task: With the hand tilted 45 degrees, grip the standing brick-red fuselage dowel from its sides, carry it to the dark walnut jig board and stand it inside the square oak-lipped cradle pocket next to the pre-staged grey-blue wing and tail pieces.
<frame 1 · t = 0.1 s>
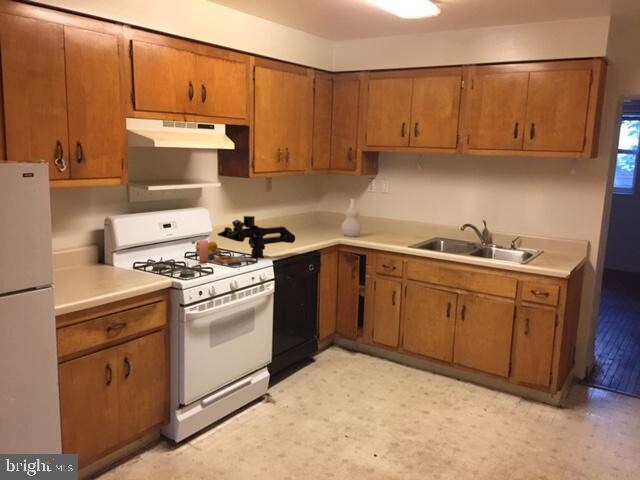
hand: (221, 235, 310), 17 cm above the countertop, tool horizontal, fingers open, 9 cm apart
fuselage: (203, 262, 314), on the countertop
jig: (230, 262, 316), on the countertop
grey gourd vase: (350, 236, 423), on the countertop
tail: (237, 258, 322), point 1 cm above the countertop, touching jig
wing: (242, 260, 317), point 1 cm above the countertop, touching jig
toy: (208, 254, 336), on the countertop
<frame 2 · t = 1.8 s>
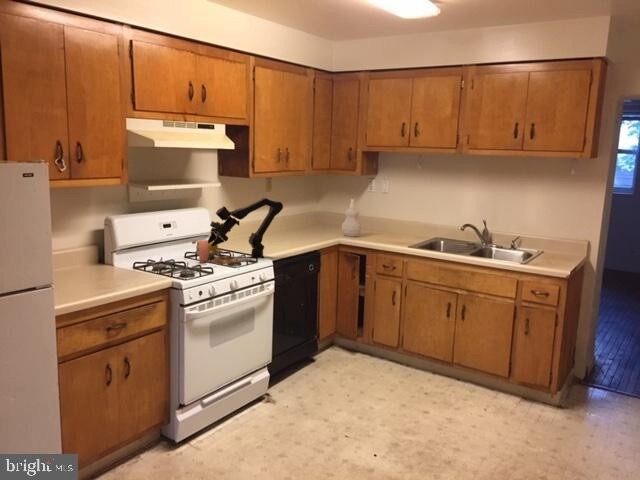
hand: (209, 244, 314), 11 cm above the countertop, tool tilted 45°, fingers open, 9 cm apart
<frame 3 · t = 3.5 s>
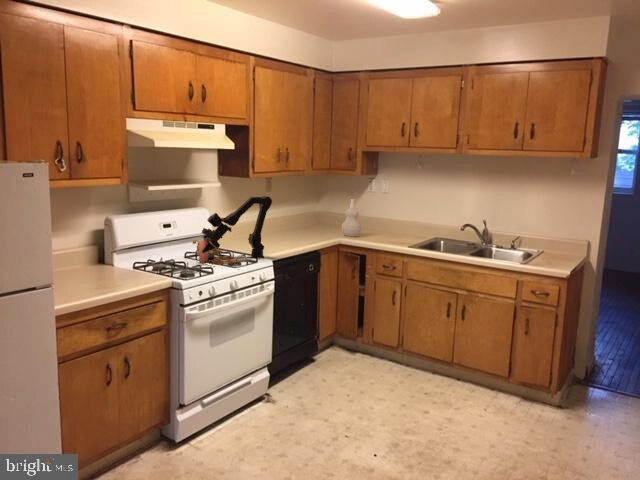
hand: (201, 251, 312), 7 cm above the countertop, tool tilted 45°, fingers closed on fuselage, 5 cm apart
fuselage: (203, 262, 314), on the countertop, touching gripper
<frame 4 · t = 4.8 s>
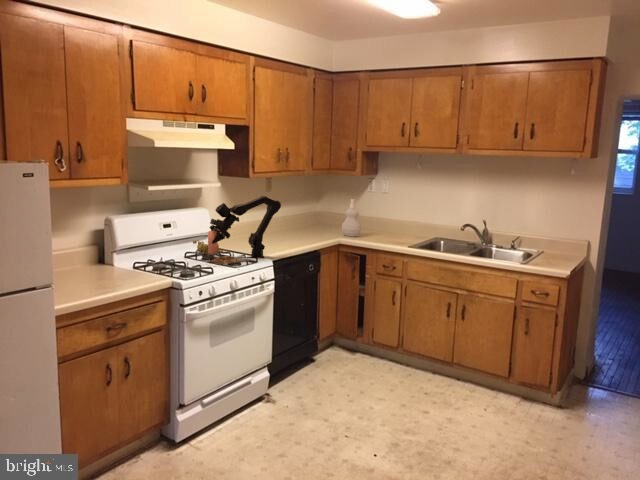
hand: (210, 242, 310), 12 cm above the countertop, tool tilted 45°, fingers closed on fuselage, 5 cm apart
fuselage: (212, 253, 312), point 6 cm above the countertop, touching gripper
when the fingers open (9 cm above the countertop, at t = 6.3 s): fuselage stays where it is, resting on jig.
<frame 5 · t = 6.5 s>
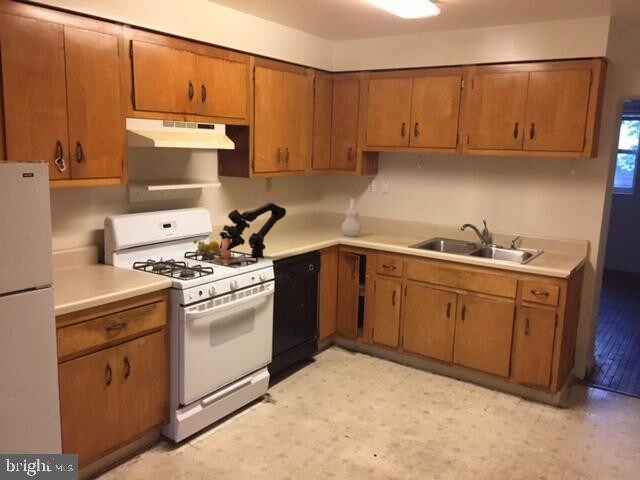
hand: (223, 249, 310), 9 cm above the countertop, tool tilted 45°, fingers open, 7 cm apart
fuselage: (225, 261, 312), point 1 cm above the countertop, touching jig
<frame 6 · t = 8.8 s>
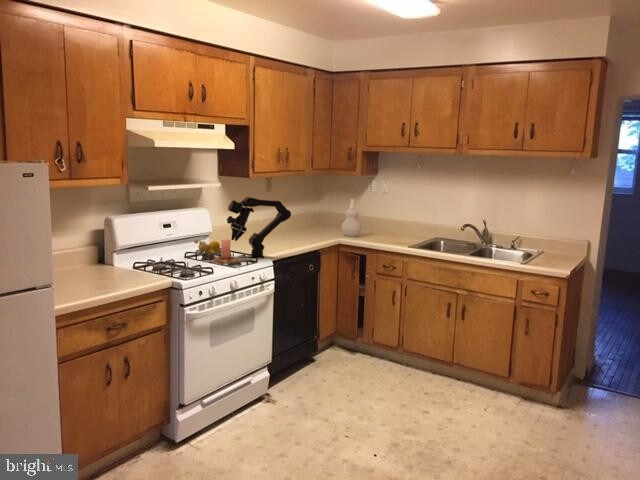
hand: (233, 240, 320), 12 cm above the countertop, tool tilted 25°, fingers open, 9 cm apart
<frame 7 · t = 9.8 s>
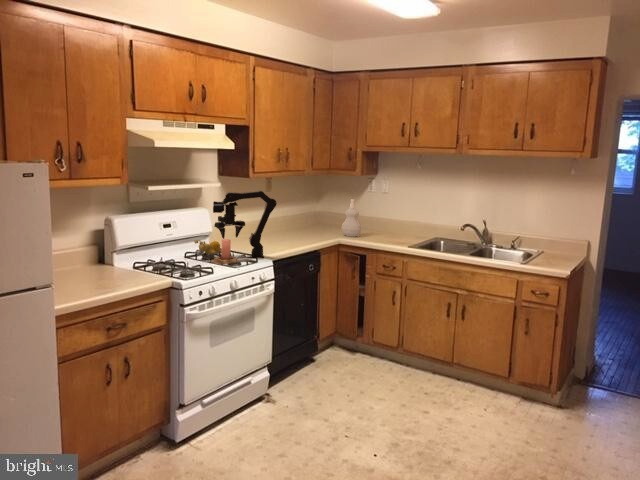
hand: (229, 238, 323), 13 cm above the countertop, tool pointing down, fingers open, 9 cm apart
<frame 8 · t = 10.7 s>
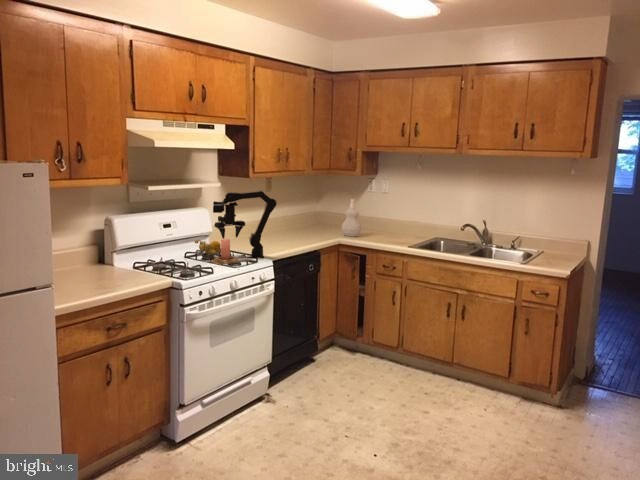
hand: (229, 238, 323), 13 cm above the countertop, tool pointing down, fingers open, 9 cm apart
at the end: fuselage inside the target area (0.1 cm from its centre), point 1.2 cm above the countertop; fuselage tilted 1°; the gripper is holding nothing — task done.
